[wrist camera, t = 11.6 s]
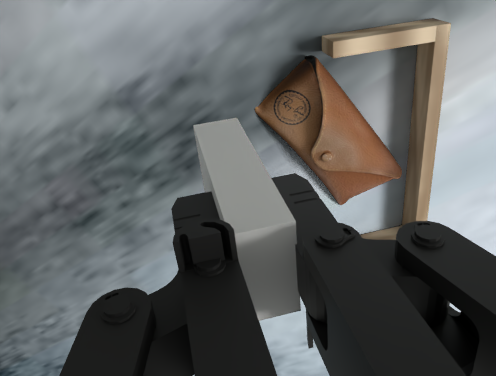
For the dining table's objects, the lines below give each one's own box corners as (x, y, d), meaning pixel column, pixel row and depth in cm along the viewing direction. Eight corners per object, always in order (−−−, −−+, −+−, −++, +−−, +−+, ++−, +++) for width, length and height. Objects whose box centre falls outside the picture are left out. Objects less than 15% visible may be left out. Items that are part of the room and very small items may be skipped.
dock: (325, 251, 59) (334, 266, 56) (321, 35, 45) (333, 42, 42) (411, 232, 60) (424, 245, 58) (433, 18, 47) (450, 23, 44)
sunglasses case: (246, 111, 47) (288, 106, 41) (280, 61, 49) (324, 50, 43) (342, 209, 56) (386, 216, 50) (367, 163, 58) (413, 165, 52)
